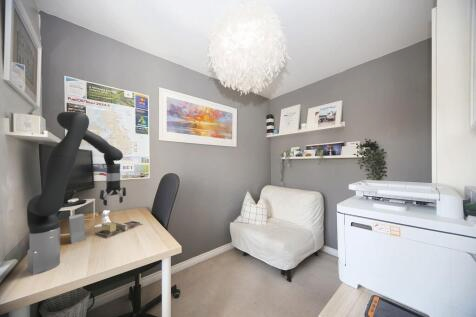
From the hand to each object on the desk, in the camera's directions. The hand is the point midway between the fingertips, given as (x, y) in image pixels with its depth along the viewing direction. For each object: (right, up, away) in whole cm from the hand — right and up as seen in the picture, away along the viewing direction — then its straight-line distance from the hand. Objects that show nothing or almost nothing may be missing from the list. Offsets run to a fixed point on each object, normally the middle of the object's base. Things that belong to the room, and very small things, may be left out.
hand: (113, 204), depth 112 cm
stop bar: (-2, -19, -1) cm, 19 cm away
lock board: (+1, -20, +5) cm, 20 cm away
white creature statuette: (-16, -20, +13) cm, 29 cm away
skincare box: (-14, -20, -11) cm, 27 cm away
